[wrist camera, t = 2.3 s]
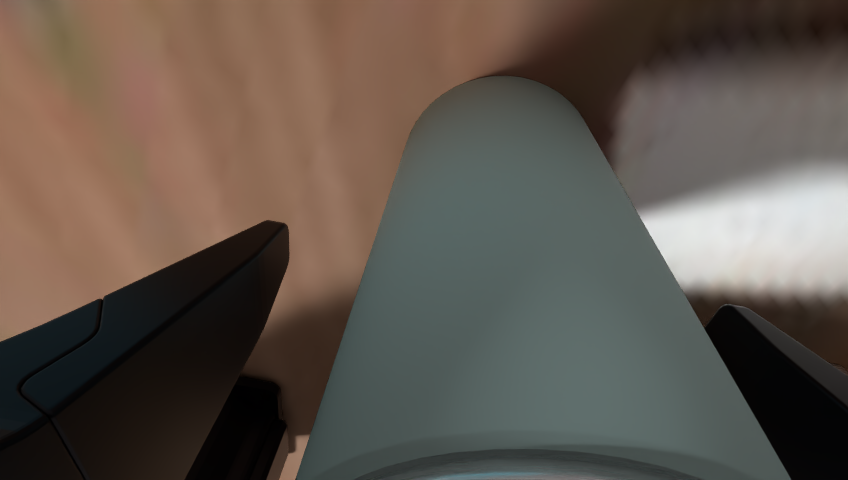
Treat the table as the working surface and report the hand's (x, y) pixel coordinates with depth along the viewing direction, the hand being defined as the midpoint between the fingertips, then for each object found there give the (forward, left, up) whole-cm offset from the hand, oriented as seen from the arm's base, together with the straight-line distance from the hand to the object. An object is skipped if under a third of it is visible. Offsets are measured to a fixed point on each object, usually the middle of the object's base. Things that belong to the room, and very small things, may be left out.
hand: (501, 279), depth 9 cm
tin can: (0, 0, -5) cm, 5 cm away
